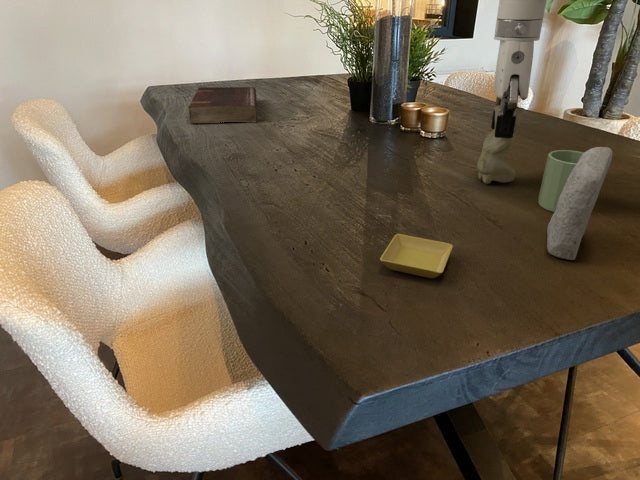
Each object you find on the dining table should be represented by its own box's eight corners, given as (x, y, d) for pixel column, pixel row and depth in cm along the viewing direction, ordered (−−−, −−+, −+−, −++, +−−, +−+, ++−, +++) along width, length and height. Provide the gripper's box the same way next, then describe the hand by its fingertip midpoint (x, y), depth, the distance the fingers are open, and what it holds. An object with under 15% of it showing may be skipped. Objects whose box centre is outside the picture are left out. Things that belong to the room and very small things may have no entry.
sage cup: (578, 198, 90) (591, 151, 86) (590, 215, 84) (604, 165, 79) (534, 195, 92) (544, 148, 88) (542, 212, 85) (553, 162, 81)
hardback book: (257, 122, 141) (256, 104, 138) (190, 124, 139) (188, 106, 137) (256, 101, 166) (255, 85, 164) (200, 102, 164) (198, 87, 162)
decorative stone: (583, 266, 69) (612, 164, 62) (537, 255, 71) (561, 157, 64) (589, 235, 77) (615, 143, 70) (548, 227, 80) (570, 137, 73)
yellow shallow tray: (452, 256, 72) (454, 243, 71) (440, 286, 64) (442, 272, 64) (395, 245, 75) (396, 232, 74) (378, 272, 68) (378, 259, 67)
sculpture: (518, 185, 96) (532, 108, 89) (483, 188, 95) (494, 110, 88) (504, 174, 101) (516, 101, 94) (471, 177, 100) (480, 103, 93)
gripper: (551, 35, 77) (529, 147, 85) (531, 26, 92) (515, 123, 100) (501, 34, 78) (485, 145, 87) (490, 26, 93) (477, 121, 102)
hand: (501, 132), depth 93 cm, fingers closed on sculpture, 5 cm apart
